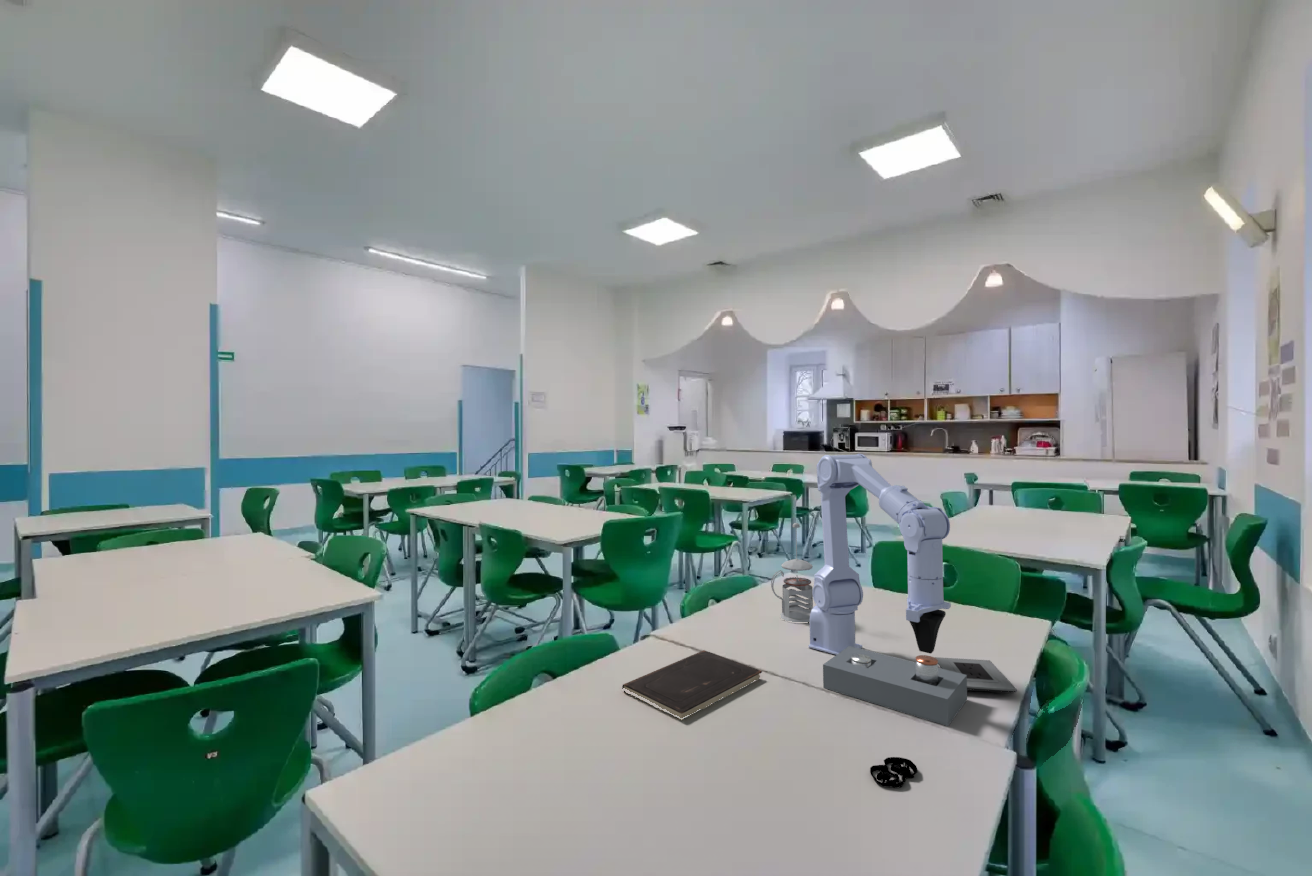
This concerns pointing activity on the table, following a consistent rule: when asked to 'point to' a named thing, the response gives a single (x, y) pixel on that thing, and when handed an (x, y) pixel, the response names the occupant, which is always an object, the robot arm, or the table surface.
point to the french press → (793, 609)
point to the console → (896, 685)
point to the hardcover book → (693, 682)
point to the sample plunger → (861, 660)
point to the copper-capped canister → (927, 670)
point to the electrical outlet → (978, 674)
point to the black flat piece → (900, 771)
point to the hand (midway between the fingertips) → (926, 651)
